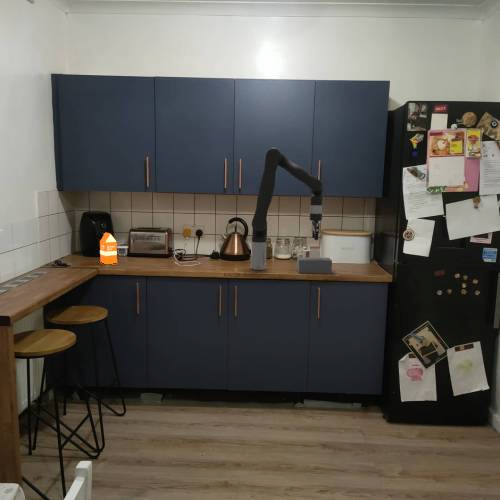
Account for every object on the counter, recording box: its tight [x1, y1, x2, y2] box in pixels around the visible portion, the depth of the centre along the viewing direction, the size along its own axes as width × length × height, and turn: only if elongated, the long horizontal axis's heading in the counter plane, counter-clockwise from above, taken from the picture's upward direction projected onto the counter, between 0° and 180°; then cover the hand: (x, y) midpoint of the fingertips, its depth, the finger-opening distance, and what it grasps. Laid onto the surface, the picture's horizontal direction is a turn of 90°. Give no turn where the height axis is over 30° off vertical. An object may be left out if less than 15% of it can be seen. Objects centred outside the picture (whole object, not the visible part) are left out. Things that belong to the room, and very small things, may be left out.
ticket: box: [309, 245, 321, 258], centre depth 283 cm, size 6×1×14 cm, turn 91°
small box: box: [302, 249, 310, 257], centre depth 302 cm, size 8×6×10 cm
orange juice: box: [99, 232, 118, 265], centre depth 297 cm, size 8×9×20 cm
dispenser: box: [296, 256, 333, 274], centre depth 283 cm, size 20×10×9 cm, turn 91°
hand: (315, 239), depth 281 cm, fingers open, 8 cm apart
